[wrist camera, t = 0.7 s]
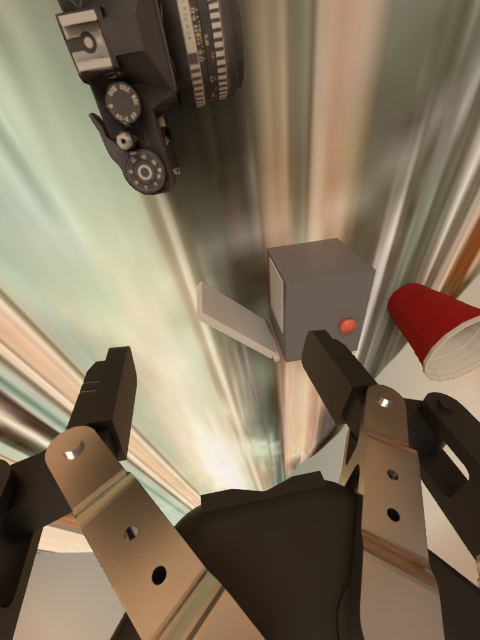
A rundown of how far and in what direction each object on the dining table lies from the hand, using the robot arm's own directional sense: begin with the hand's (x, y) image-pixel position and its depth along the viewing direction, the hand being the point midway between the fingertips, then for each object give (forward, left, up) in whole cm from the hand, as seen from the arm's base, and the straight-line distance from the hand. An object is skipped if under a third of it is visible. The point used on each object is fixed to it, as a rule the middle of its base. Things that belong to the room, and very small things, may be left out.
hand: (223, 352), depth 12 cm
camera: (+1, -12, -22) cm, 25 cm away
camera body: (-11, +11, -22) cm, 27 cm away
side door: (-2, +12, -22) cm, 25 cm away
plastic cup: (-28, +16, -22) cm, 39 cm away
